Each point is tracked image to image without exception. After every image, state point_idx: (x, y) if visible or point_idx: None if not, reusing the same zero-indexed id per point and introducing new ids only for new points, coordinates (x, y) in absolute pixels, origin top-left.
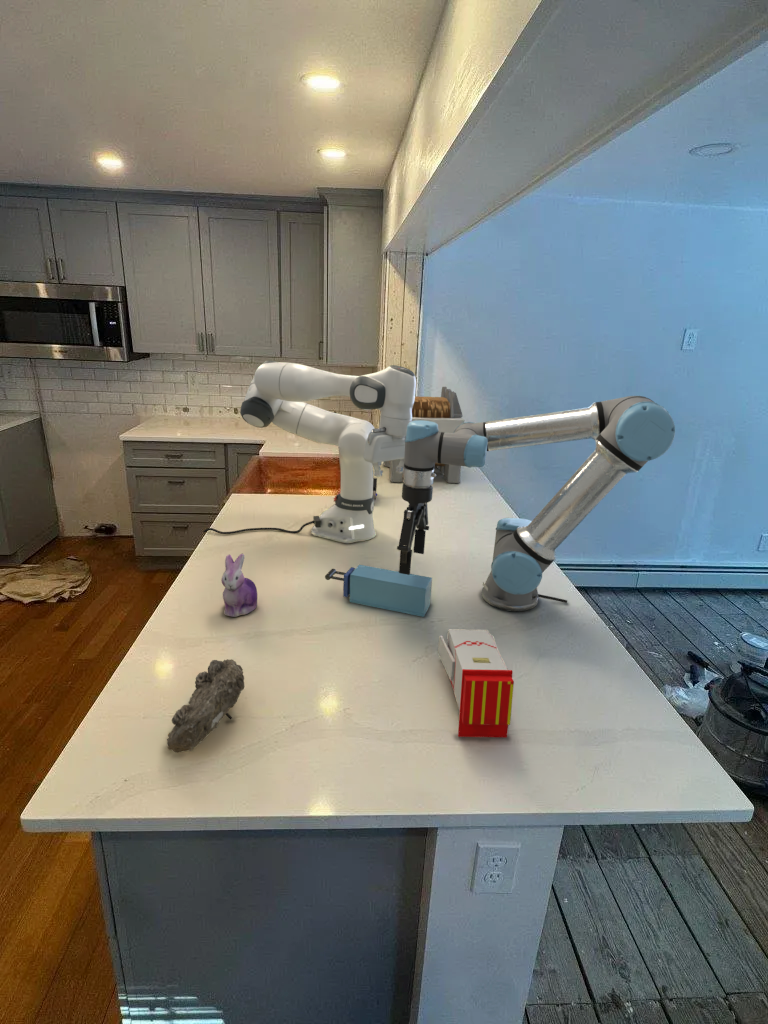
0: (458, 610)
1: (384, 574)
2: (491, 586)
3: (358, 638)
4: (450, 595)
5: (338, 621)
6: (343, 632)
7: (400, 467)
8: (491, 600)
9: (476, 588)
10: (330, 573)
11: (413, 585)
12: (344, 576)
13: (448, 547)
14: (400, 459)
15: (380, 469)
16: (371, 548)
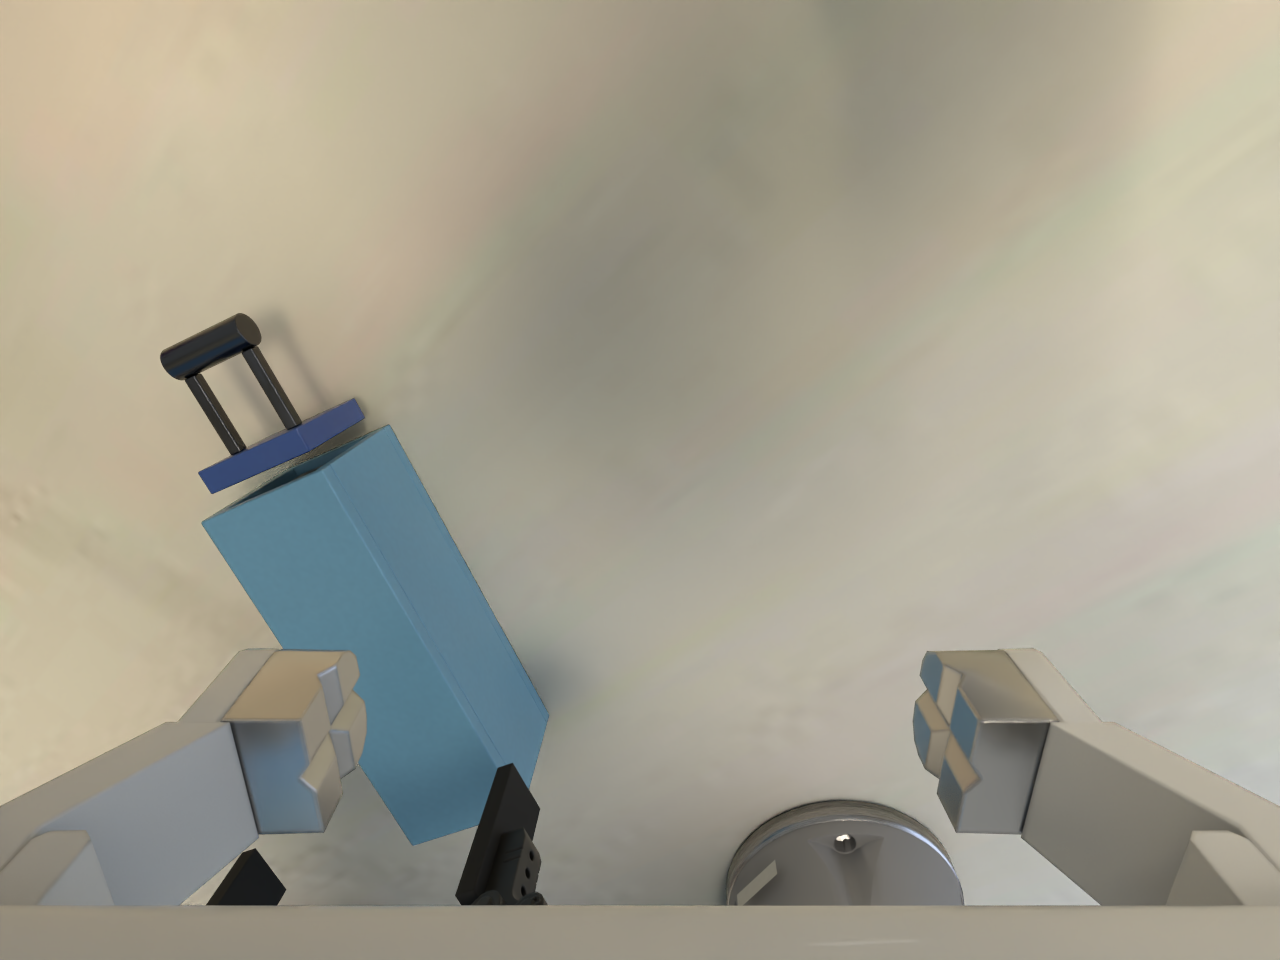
0: (602, 805)
1: (355, 642)
2: None
3: (156, 672)
4: (684, 727)
5: (156, 545)
6: (130, 611)
7: (957, 810)
8: (729, 887)
9: (825, 768)
10: (188, 365)
11: (389, 797)
12: (204, 475)
13: (1217, 420)
14: (1181, 864)
15: (213, 873)
16: (867, 57)
